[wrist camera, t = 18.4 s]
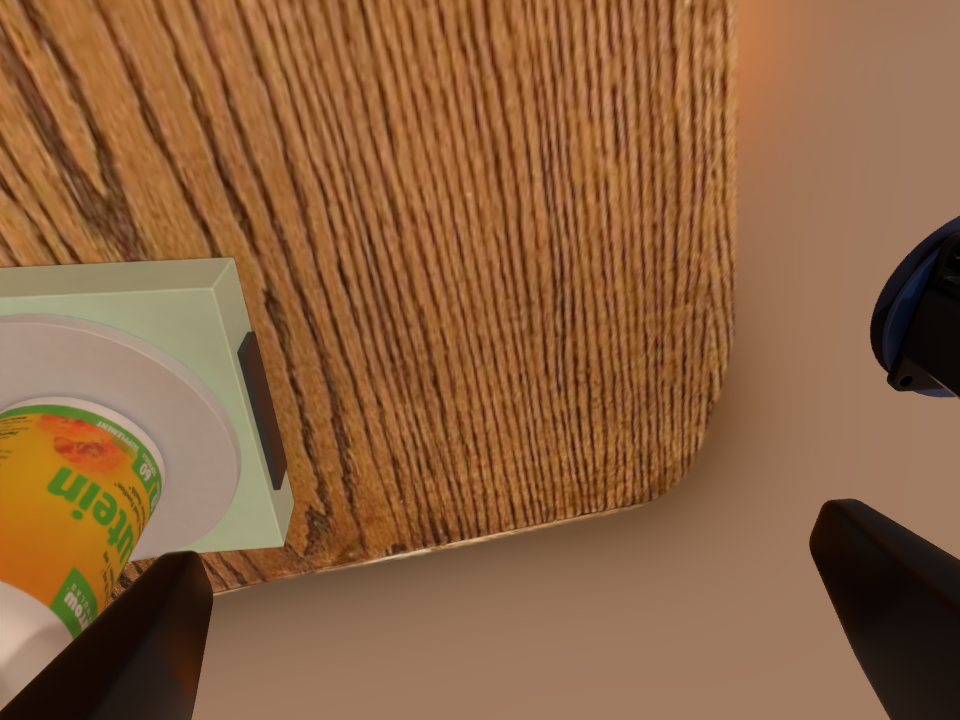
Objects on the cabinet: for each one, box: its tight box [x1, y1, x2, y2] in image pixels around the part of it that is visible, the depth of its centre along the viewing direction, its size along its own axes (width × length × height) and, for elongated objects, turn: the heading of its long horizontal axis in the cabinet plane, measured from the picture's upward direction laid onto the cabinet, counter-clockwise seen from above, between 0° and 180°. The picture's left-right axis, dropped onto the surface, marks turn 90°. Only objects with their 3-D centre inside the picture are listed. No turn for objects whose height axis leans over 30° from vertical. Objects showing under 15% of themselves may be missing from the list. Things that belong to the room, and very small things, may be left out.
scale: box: [0, 257, 294, 562], centre depth 21 cm, size 11×11×3 cm
